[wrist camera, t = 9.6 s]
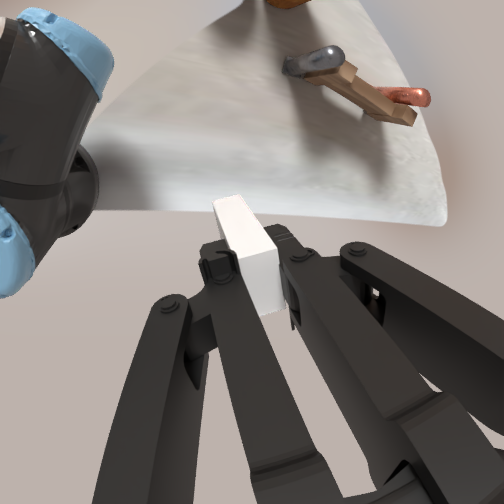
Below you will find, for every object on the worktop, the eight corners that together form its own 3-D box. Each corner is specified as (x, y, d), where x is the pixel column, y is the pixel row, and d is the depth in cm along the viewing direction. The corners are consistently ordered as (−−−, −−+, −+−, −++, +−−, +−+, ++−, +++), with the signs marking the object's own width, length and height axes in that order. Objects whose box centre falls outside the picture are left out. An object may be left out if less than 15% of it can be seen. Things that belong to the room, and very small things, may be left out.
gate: (369, 119, 44) (412, 126, 34) (302, 78, 39) (337, 73, 29) (373, 108, 43) (417, 113, 33) (307, 66, 38) (344, 58, 29)
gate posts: (281, 72, 38) (320, 62, 27) (288, 50, 37) (328, 33, 25) (373, 110, 43) (426, 117, 32) (379, 90, 42) (433, 93, 31)
